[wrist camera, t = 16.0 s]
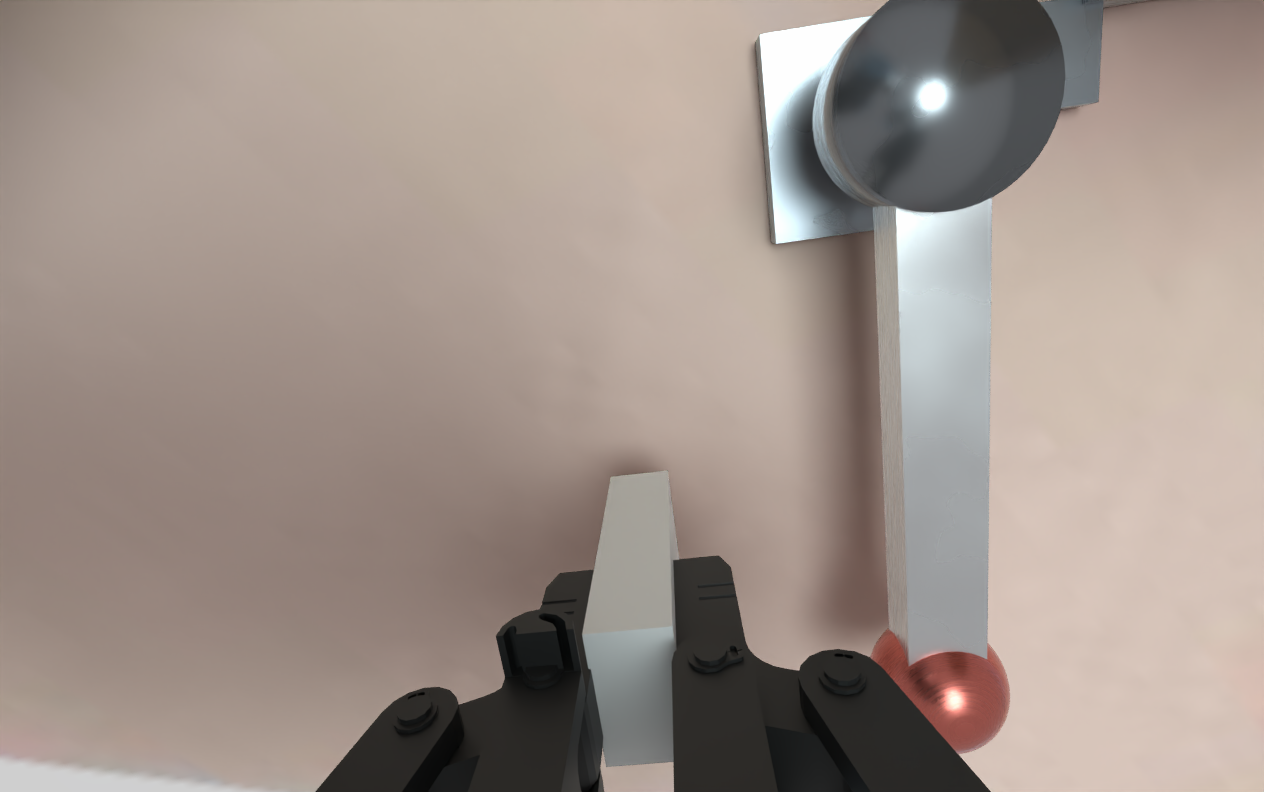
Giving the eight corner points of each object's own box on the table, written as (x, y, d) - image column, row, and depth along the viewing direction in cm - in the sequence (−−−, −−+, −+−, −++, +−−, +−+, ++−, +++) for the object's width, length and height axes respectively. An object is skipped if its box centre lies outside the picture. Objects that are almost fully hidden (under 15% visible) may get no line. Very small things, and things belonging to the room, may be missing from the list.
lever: (841, 695, 18) (878, 792, 15) (800, 31, 14) (840, -20, 11) (986, 683, 18) (1053, 780, 15) (994, -2, 13) (1092, -64, 10)
